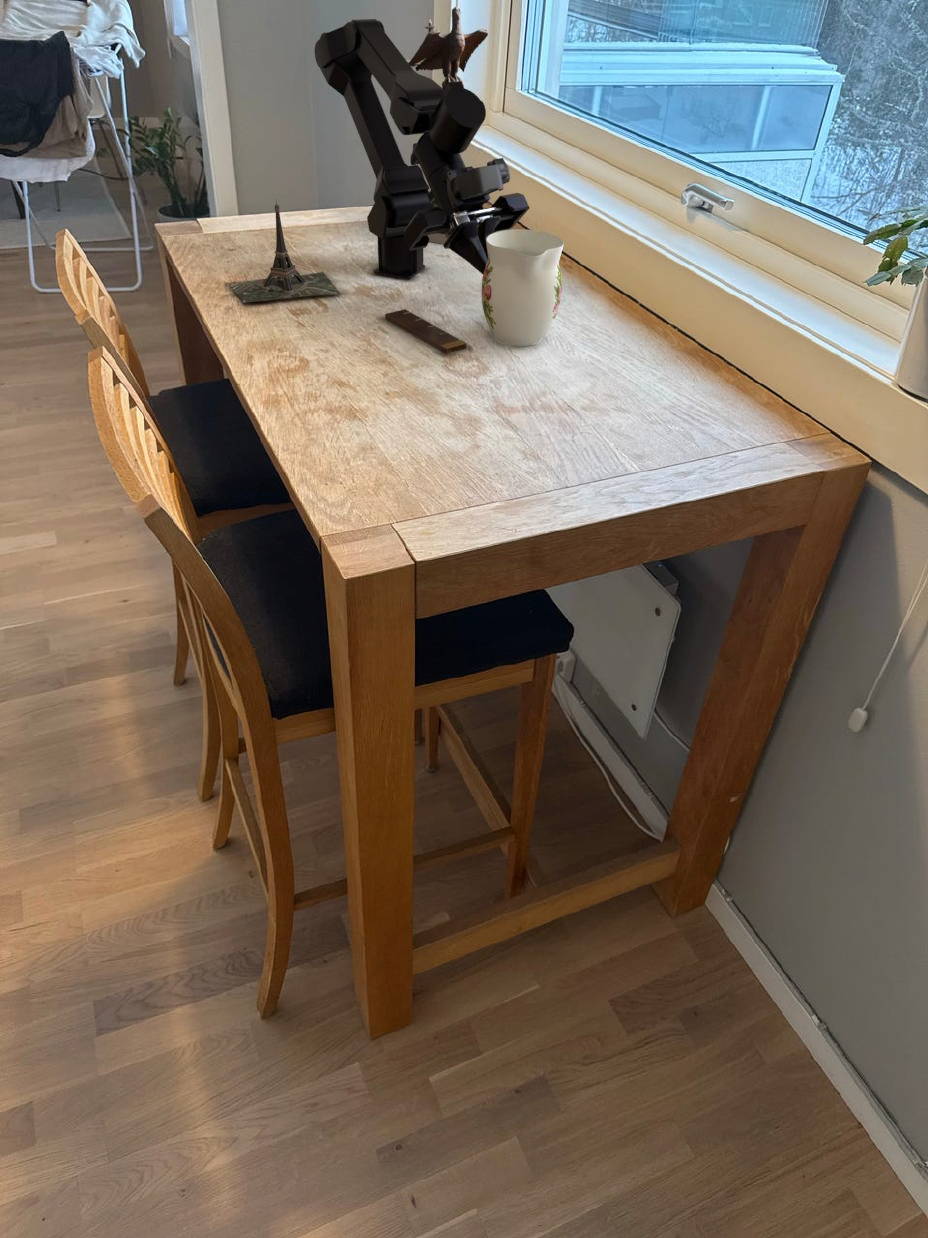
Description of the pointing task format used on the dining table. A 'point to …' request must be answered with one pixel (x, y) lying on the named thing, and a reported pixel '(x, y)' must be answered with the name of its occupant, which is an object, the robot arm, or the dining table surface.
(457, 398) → the dining table surface
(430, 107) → the robot arm
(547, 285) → the pitcher
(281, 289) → the eiffel tower figurine
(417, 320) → the ruler
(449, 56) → the bird statue
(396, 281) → the dining table surface
